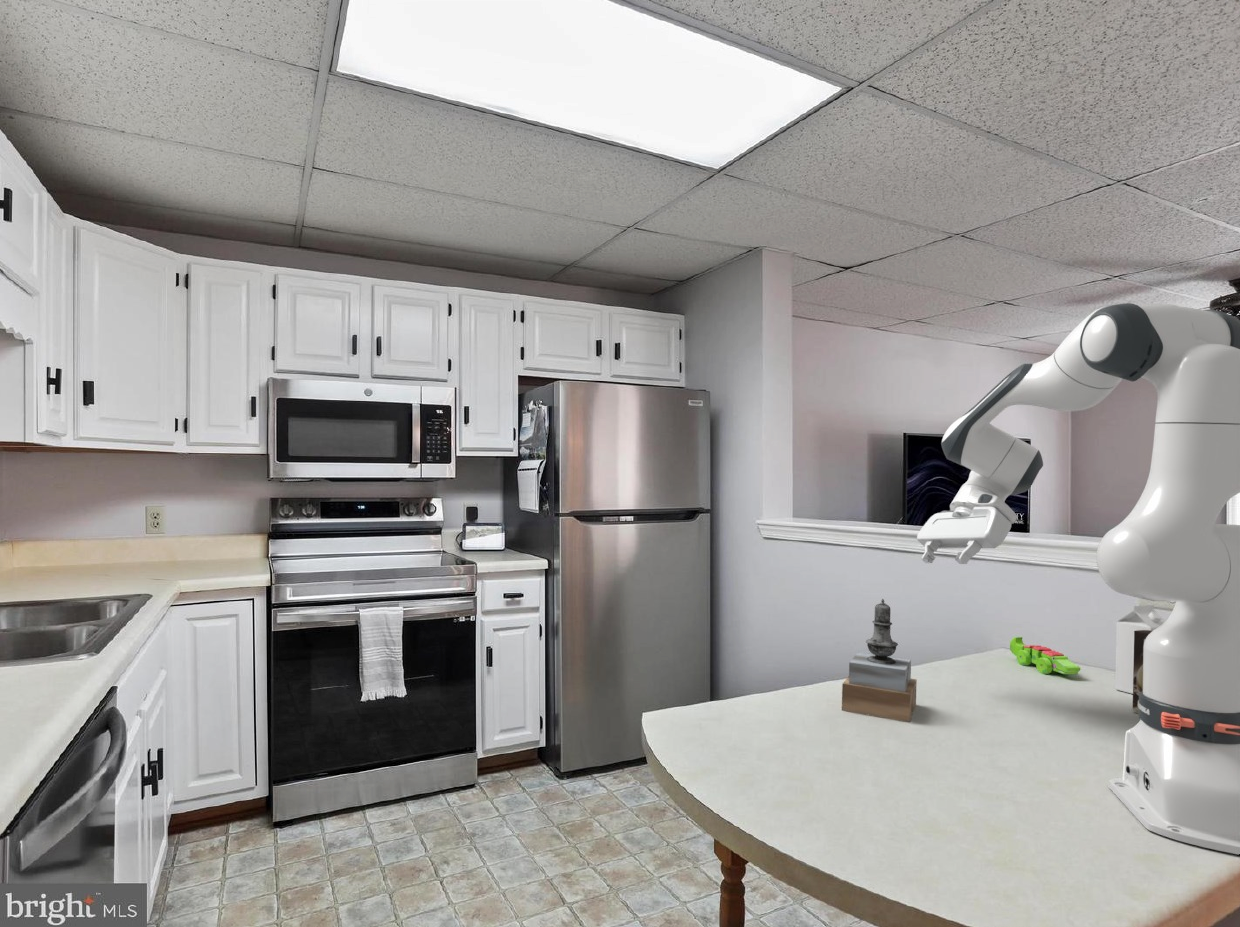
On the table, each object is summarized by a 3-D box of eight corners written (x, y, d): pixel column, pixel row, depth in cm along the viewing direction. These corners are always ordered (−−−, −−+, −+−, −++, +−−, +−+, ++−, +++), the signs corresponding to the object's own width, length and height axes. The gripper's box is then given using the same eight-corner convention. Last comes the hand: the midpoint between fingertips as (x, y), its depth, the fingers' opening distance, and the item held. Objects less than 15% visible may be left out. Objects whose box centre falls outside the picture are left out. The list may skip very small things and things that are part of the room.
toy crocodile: (1085, 681, 165) (1086, 654, 165) (1058, 681, 164) (1058, 654, 164) (1029, 659, 184) (1030, 635, 184) (1005, 659, 184) (1005, 635, 184)
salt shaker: (892, 666, 135) (894, 602, 135) (861, 660, 139) (862, 598, 139) (901, 660, 140) (902, 598, 140) (870, 655, 143) (872, 595, 144)
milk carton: (1114, 690, 157) (1116, 603, 158) (1134, 687, 160) (1135, 601, 161) (1150, 699, 151) (1151, 608, 151) (1170, 696, 154) (1171, 607, 154)
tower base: (909, 722, 131) (910, 672, 131) (841, 710, 137) (842, 662, 137) (915, 704, 142) (917, 658, 142) (853, 694, 147) (854, 650, 147)
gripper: (928, 502, 157) (897, 551, 154) (1003, 495, 138) (970, 551, 134) (948, 520, 158) (917, 570, 154) (1025, 516, 139) (992, 573, 135)
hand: (942, 561), depth 144 cm, fingers open, 8 cm apart
